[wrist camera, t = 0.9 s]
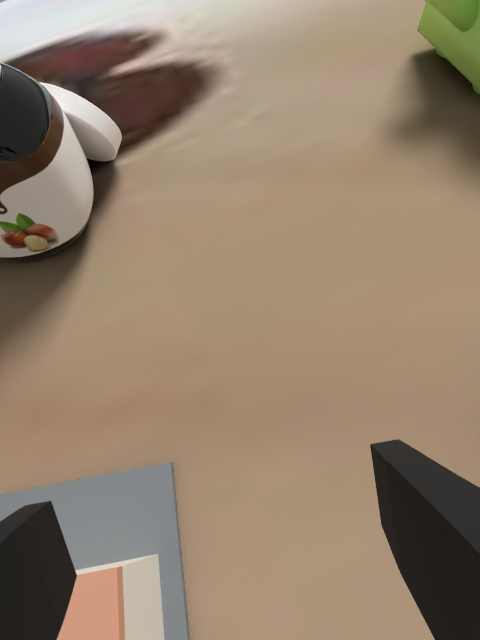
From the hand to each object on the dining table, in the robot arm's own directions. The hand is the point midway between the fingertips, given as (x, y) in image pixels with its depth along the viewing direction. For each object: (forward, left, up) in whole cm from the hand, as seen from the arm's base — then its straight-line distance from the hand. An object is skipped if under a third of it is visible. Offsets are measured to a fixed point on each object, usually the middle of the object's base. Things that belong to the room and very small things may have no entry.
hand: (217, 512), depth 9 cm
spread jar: (+23, +10, -13) cm, 28 cm away
